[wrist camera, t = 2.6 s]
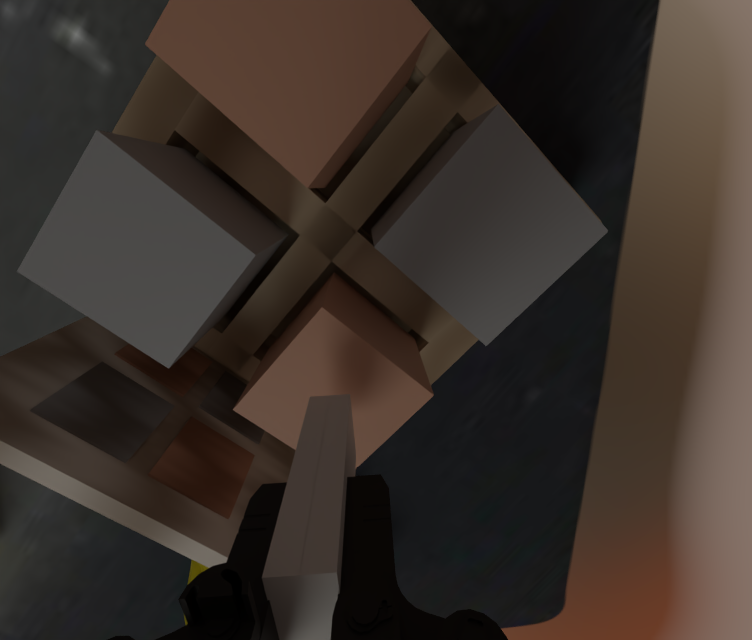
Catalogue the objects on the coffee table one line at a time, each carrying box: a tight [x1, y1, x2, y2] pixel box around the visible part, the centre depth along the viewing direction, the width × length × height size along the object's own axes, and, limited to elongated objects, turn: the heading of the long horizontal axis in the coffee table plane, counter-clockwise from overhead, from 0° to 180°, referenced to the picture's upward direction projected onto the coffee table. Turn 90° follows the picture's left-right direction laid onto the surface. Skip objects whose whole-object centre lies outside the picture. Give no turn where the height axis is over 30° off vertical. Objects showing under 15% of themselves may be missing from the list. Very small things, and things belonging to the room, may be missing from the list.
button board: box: [0, 0, 601, 568], centre depth 17 cm, size 20×22×12 cm
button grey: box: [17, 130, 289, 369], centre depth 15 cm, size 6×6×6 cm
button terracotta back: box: [233, 272, 434, 468], centre depth 18 cm, size 6×6×6 cm
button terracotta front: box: [145, 0, 432, 188], centre depth 13 cm, size 6×6×6 cm
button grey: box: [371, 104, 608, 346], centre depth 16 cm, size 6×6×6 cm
